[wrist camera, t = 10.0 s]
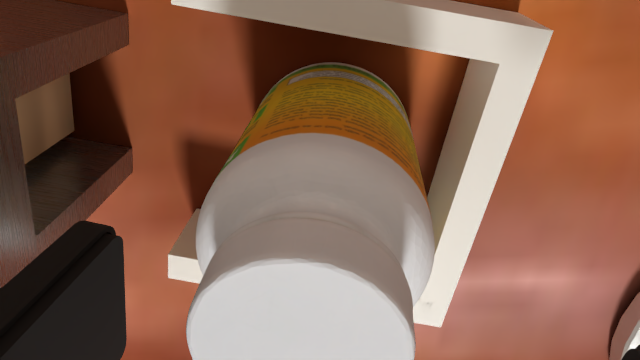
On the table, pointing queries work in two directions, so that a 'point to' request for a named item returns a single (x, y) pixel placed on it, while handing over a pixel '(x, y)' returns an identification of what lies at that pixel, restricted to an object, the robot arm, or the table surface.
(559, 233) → the table surface
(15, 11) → the guide block
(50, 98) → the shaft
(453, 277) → the frame
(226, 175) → the supplement bottle
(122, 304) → the robot arm
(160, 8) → the table surface
